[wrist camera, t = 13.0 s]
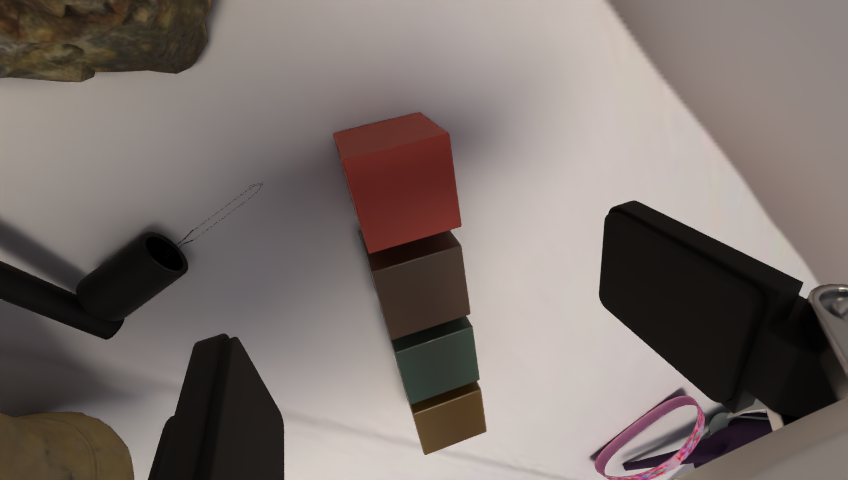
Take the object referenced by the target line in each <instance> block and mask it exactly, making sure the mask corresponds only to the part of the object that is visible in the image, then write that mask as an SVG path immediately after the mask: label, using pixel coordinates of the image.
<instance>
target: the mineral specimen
mask: <svg viewBox="0 0 848 480" xmlns="http://www.w3.org/2000/svg"><path fill="white" fill-rule="evenodd" d="M211 6H212V0H0V78H5V77H14V78H26V79H37V80H49V81H61V82H83V81H85V80H87V79H90V78H92V77H94V75H95V72H125V71H145V70H149V71H156V72H164V73H175V74H177V73H179V72H182V71H184V70H186V69H188V68H190V67H191V66H192V65H193V64H194V63H195V62H196V60H197V59H198V57H199V55H200V54H201V52H202V50H203V49H204V47H205V45H206V44H207V42H208V39H207V34H206V29H205V24H204V20H205V18H206V17H207V15H208V13H209V11H210V8H211Z"/></svg>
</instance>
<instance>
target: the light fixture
mask: <svg viewBox="0 0 848 480" xmlns="http://www.w3.org/2000/svg"><path fill="white" fill-rule="evenodd" d="M261 184H262V183H261ZM258 185H259V184H258ZM254 186H255V184H254ZM251 188H252V187H251ZM258 190H259V189H258ZM245 192H246V191H245ZM255 194H256V193H255ZM241 195H242V194H241ZM237 198H238V197H237ZM250 198H251V197H250ZM250 198H249V199H250ZM233 201H234V200H233ZM245 202H246V201H245ZM229 204H230V203H229ZM241 205H242V204H241ZM225 207H226V206H225ZM238 207H239V206H238ZM221 210H222V209H221ZM234 210H235V209H234ZM217 213H218V212H217ZM230 213H231V212H230ZM213 216H214V215H213ZM226 216H227V215H226ZM209 219H210V218H209ZM222 219H223V218H222ZM219 221H220V220H219ZM219 221H218V222H219ZM205 222H206V221H205ZM215 224H216V223H215ZM201 225H202V224H201ZM211 227H212V226H211ZM197 228H198V227H197ZM207 230H208V229H207ZM192 231H194V230H192ZM192 231H191V232H192ZM191 232H190V233H191ZM190 233H189V234H190ZM203 233H204V232H203ZM189 234H188V235H189ZM188 235H187V236H188ZM187 236H186V237H185V238H184V239H186V238H187ZM199 236H200V235H199ZM196 238H197V237H196ZM196 238H195V239H196ZM184 239H183V240H184ZM183 240H182V241H183ZM191 241H193V240H191ZM188 242H190V241H188ZM188 242H186V243H188ZM179 243H180V242H179ZM179 243H178V244H179ZM184 244H185V243H184ZM184 244H183V245H184ZM181 246H182V245H181ZM181 246H180V247H181ZM187 270H188V263H187V260H186V258H185V256H184V254H183V253H182V251H181V250H180V249H179V248H178V247H177V246H176V245H175V244H174V243H173V242H172V241H170V240H169V239H168V238H166V237H164V236H162V235H160V234H157V233H154V232H146V233H144V234H142V235H141V236H139V237H138V238H137V239H135V240H134V241H133V242H131V243H130V244H129V245H127V246H126V247H125V248H123V249H122V250H121V251H119V252H118V253H117V254H115V255H114V256H113V257H111V258H110V259H109V260H107V261H106V262H105V263H103V264H102V265H101V266H99V267H98V268H97V269H95V270H94V271H93V272H91V273H90V274H89V275H87V276H86V277H85V278H84V279H82V280H81V281H80V282H79V283H78V285H77V288H76V294H77V295H76V294H74V293H72V292H69V291H67V290H65V289H63V288H60V287H58V286H56V285H54V284H51V283H49V282H47V281H45V280H42V279H40V278H38V277H36V276H33V275H31V274H29V273H26V272H24V271H22V270H20V269H17V268H15V267H13V266H11V265H8V264H6V263H4V262H2V261H0V299H1V300H4V301H7V302H9V303H12V304H14V305H17V306H20V307H22V308H25V309H27V310H30V311H32V312H35V313H38V314H40V315H43V316H45V317H48V318H50V319H53V320H56V321H58V322H61V323H63V324H66V325H69V326H71V327H74V328H76V329H79V330H81V331H84V332H87V333H89V334H92V335H94V336H97V337H100V338H102V339H105V340H107V339H110V338H111V337H113V336H114V335H115V334H116V333H117V332H118V330H119V329H120V328H121V326H122V324H123V322H124V318H125V317H127V316H128V315H130V314H131V313H132V312H134V311H135V310H136V309H138V308H139V307H141V306H142V305H143V304H145V303H146V302H147V301H149V300H150V299H151V298H153V297H154V296H155V295H157V294H158V293H159V292H161V291H162V290H164V289H165V288H166V287H168V286H169V285H170V284H172V283H173V282H174V281H176V280H177V279H178V278H180V277H181V276H182V275H184V274H185V273H186V272H187Z"/></svg>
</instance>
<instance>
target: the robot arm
mask: <svg viewBox="0 0 848 480" xmlns="http://www.w3.org/2000/svg"><path fill="white" fill-rule="evenodd" d="M802 285H803V282H801V281H799V280H797V279H795V278H793V277H791V276H789V275H787V274H785V273H783V272H781V271H779V270H777V269H775V268H773V267H771V266H769V265H767V264H765V263H762V262H760V261H758V260H756V259H754V258H752V257H750V256H748V255H746V254H744V253H742V252H740V251H738V250H736V249H734V248H732V247H730V246H728V245H726V244H724V243H722V242H720V241H718V240H715V239H713V238H711V237H709V236H707V235H705V234H703V233H701V232H699V231H697V230H695V229H693V228H691V227H689V226H687V225H685V224H683V223H681V222H679V221H677V220H675V219H673V218H671V217H668V216H666V215H664V214H662V213H660V212H658V211H656V210H654V209H652V208H650V207H648V206H646V205H644V204H642V203H640V202H637V201H630V202H627V203H624V204H620V205H617V206H614V207H612V208H611V209H610V211H609V214H608V215H607V216H606V217H605V222H604V235H603V248H602V261H601V274H600V287H599V298H600V301H601V303H602V304H603V306H604V307H605V308H606V309H607V310H608V311H609V312H611V313H612V314H613V315H614V316H615V317H616V318H618V319H619V320H620V321H621V322H622V323H623V324H624V325H626V326H627V327H628V328H629V329H630V330H631V331H632V332H634V333H635V334H636V335H637V336H638V337H639V338H641V339H642V340H643V341H644V342H645V343H646V344H647V345H649V346H650V347H651V348H652V349H653V350H654V351H655V352H657V353H658V354H659V355H660V356H661V357H662V358H664V359H665V360H666V361H667V362H668V363H669V364H670V365H672V366H673V367H674V368H675V369H676V370H677V371H679V372H680V373H681V374H682V375H683V376H684V377H685V378H687V379H688V380H689V381H690V382H691V383H692V384H693V385H695V386H696V387H697V388H698V389H699V390H700V391H702V392H703V393H704V394H705V395H706V396H707V397H708V398H710V399H711V400H713V401H715V402H718V403H721V404H723V405H724V406H725V407H726V408H727V409H728V410H730V411H731V412H732V413H733V414H735V413H737V412H739V411H742V410H744V409H746V408H748V407H750V406H752V405H753V404H754V402H755V400H756V399H758V400H759V401H760V402H761V403H763V404H764V405H765V409H766V412H767V415H768V418H769V421H770V424H771V427H772V430H773V432H771V433H769V434H767V435H765V436H763V437H761V438H759V439H756V440H754V441H752V442H750V443H748V444H746V445H744V446H742V447H740V448H738V449H735V450H733V451H731V452H729V453H727V454H725V455H723V456H721V457H719V458H716V459H714V460H712V461H710V462H708V463H706V464H704V465H702V466H700V467H698V468H696V469H693V470H691V471H689V472H687V473H685V474H683V475H681V476H679V477H677V478H675V479H673V480H848V285H846V284H828V285H822V286H818V287H816V288H814V289H813V290H811V292H810V294H809V296H808V298H807V299H805V298H803V297H801V296H799V292H800V290H801V287H802ZM148 480H284V423H283V418H282V415H281V413H280V411H279V409H278V407H277V405H276V404H275V402H274V400H273V398H272V397H271V395H270V393H269V391H268V389H267V388H266V386H265V384H264V382H263V381H262V379H261V377H260V375H259V373H258V372H257V370H256V368H255V366H254V365H253V363H252V361H251V359H250V358H249V356H248V354H247V352H246V350H245V349H244V347H243V345H242V343H241V342H240V340H239V339H238V338H237V337H232V338H229V337H228V336H227V335H226V334H220V335H217V336H214V337H211V338H208V339H205V340H202V341H199V342H197V343H195V345H194V347H193V351H192V354H191V358H190V361H189V365H188V368H187V372H186V375H185V379H184V383H183V386H182V390H181V393H180V397H179V400H178V404H177V407H176V411H175V415H174V416H171V417H170V418H169V419H168V420H167V421H166V423H165V426H164V428H163V431H162V434H161V437H160V441H159V444H158V447H157V451H156V454H155V457H154V461H153V464H152V468H151V471H150V474H149V478H148Z"/></svg>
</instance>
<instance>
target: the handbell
mask: <svg viewBox="0 0 848 480" xmlns="http://www.w3.org/2000/svg"><path fill="white" fill-rule="evenodd" d="M0 480H134V472H133V465H132V460H131V456H130V453H129V449H128V447H127V446H126V445H125V443H124V442H123V440H122V439H121V438H120V437H119V436H118V435H117V433H116V432H115V431H114V430H113V429H112V428H111V427H110V426H108V425H107V424H105V423H104V422H102V421H101V420H99V419H97V418H93V417H90V416H86V415H85V414H83V413H79V412H44V413H36V414H29V415H23V416H17V417H11V416H7V415H5V414H3V413H0Z"/></svg>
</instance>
